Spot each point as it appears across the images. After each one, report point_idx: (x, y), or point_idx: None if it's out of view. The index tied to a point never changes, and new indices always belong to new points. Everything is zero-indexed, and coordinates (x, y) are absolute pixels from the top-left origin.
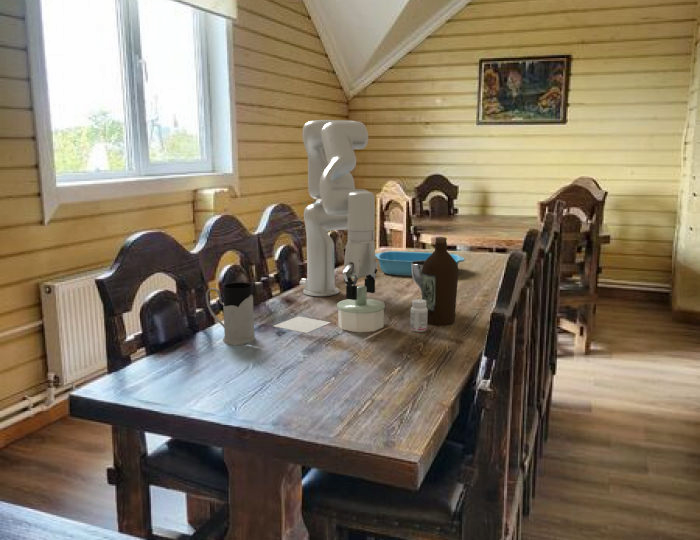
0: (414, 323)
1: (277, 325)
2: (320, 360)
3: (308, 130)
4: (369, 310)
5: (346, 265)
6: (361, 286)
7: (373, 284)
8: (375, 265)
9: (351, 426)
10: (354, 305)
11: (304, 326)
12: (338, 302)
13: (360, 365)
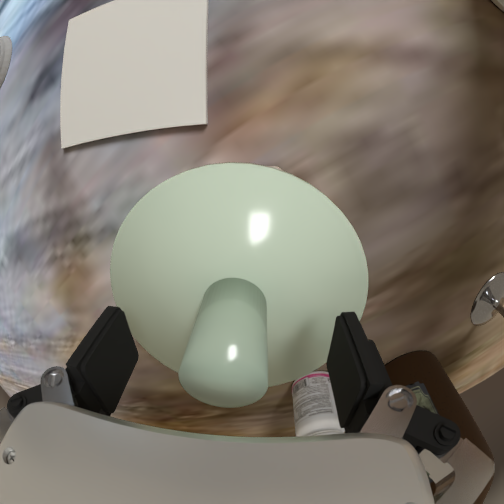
0: (293, 401)
1: (78, 22)
2: (15, 297)
3: None
4: (174, 369)
5: (2, 486)
6: (244, 379)
7: (337, 405)
8: (436, 489)
9: (6, 382)
10: (189, 291)
11: (104, 85)
12: (184, 173)
13: (54, 360)
